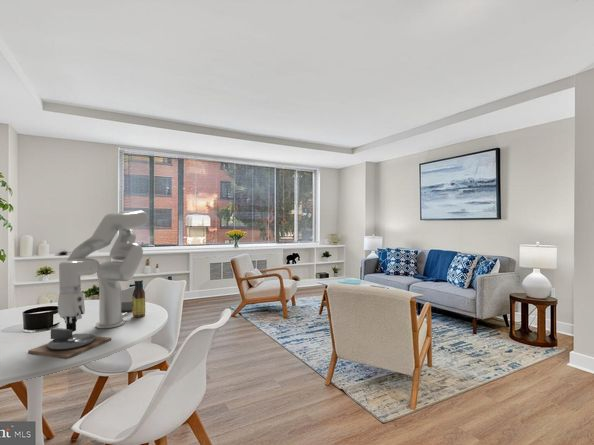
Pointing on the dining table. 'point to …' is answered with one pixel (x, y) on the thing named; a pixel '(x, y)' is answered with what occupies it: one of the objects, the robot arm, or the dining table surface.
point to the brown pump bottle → (138, 299)
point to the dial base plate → (68, 353)
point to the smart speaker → (127, 299)
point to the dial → (68, 339)
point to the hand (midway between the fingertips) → (71, 331)
